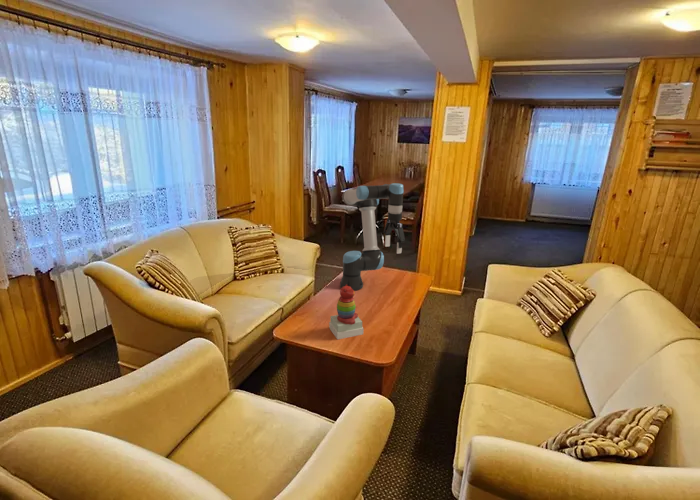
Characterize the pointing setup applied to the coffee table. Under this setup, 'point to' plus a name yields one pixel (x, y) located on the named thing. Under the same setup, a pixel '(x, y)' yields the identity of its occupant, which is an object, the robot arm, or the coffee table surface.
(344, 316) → the stacking bear
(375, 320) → the coffee table surface
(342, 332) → the tower base
